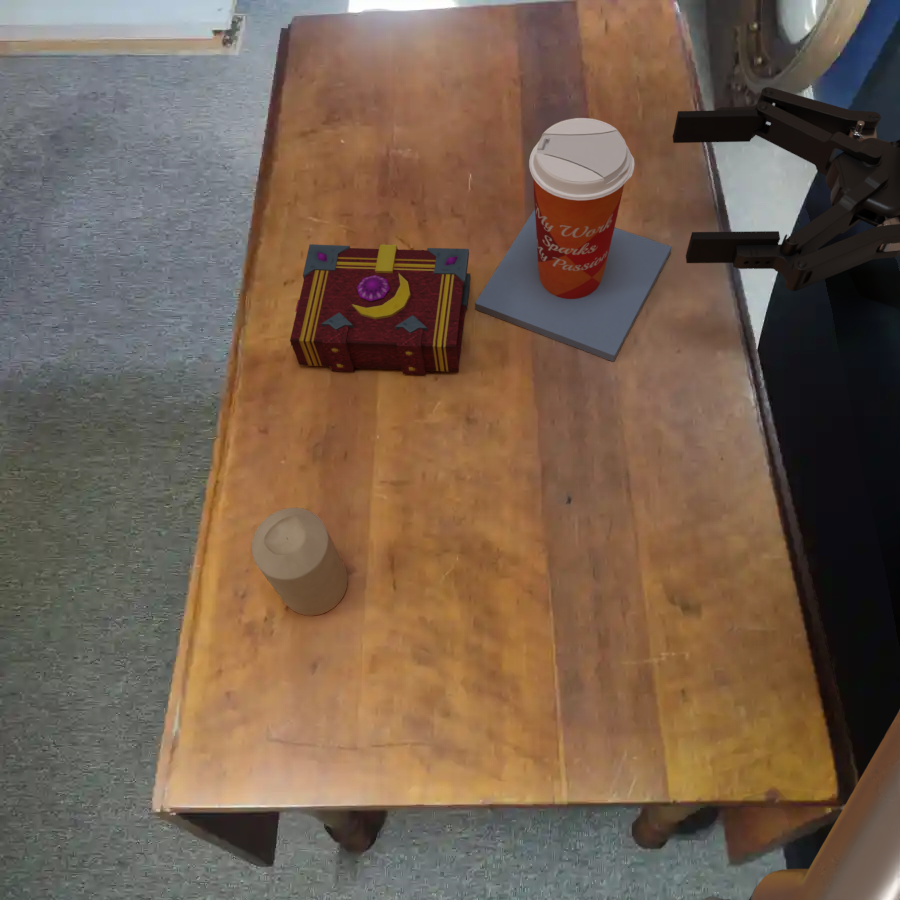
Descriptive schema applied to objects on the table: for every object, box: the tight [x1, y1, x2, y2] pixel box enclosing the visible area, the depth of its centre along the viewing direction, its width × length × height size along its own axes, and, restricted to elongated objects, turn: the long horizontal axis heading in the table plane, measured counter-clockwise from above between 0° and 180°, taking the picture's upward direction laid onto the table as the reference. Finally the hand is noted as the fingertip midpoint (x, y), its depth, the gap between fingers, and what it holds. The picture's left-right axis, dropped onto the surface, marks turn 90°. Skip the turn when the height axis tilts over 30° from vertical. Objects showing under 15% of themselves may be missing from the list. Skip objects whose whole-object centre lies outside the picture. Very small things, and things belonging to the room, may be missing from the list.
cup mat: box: [474, 208, 673, 363], centre depth 80 cm, size 14×14×1 cm
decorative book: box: [289, 243, 472, 376], centre depth 78 cm, size 11×16×5 cm
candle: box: [251, 507, 348, 617], centre depth 63 cm, size 6×6×10 cm
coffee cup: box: [528, 117, 635, 299], centre depth 73 cm, size 8×8×15 cm
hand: (681, 184), depth 69 cm, fingers open, 13 cm apart
